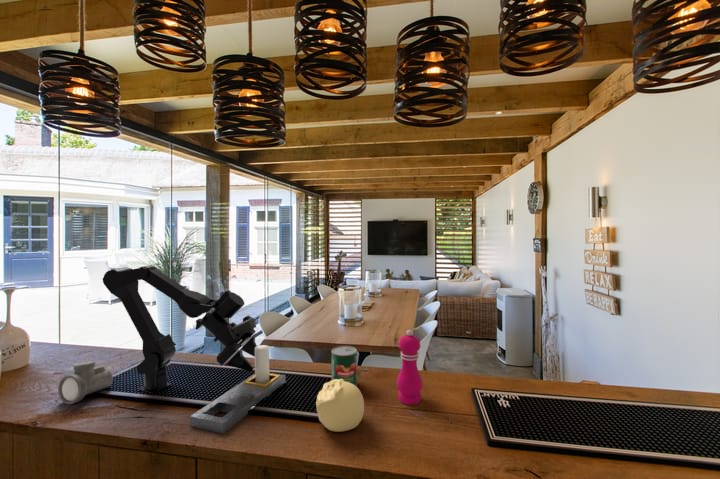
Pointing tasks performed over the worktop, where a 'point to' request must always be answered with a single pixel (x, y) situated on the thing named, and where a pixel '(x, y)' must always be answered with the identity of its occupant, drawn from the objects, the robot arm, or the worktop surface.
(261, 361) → the peg
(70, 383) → the grey flashlight
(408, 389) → the pepper mill
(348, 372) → the canned tomato
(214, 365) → the worktop surface
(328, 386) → the sculpture
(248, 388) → the grey board with holes
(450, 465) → the worktop surface
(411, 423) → the worktop surface
